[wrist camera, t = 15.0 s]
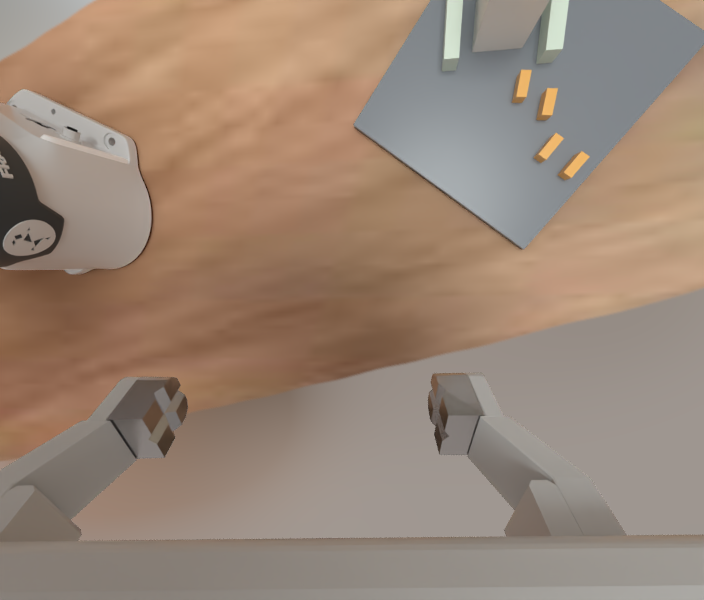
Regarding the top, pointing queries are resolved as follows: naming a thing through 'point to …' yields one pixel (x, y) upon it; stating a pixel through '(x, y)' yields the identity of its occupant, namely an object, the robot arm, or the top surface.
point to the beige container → (504, 23)
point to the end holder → (548, 38)
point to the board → (525, 106)
